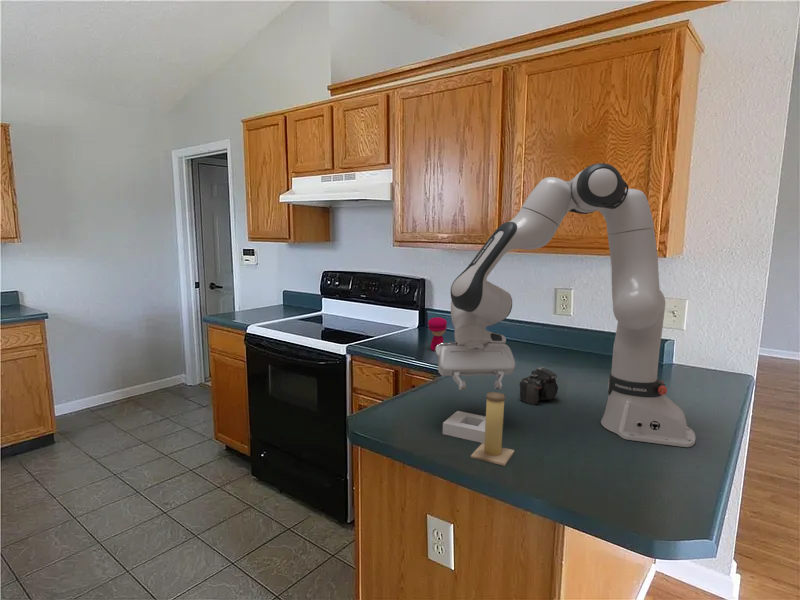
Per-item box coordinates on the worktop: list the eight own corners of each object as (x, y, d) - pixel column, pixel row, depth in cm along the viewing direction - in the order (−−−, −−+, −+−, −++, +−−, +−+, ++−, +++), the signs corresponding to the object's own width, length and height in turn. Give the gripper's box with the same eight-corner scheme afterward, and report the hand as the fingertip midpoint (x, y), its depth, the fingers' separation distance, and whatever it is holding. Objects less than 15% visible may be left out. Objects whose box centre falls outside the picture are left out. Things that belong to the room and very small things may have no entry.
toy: (449, 350, 216) (450, 317, 213) (440, 354, 209) (441, 320, 207) (432, 348, 220) (433, 315, 218) (423, 351, 213) (424, 317, 211)
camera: (548, 408, 146) (550, 376, 144) (516, 401, 151) (518, 370, 150) (561, 397, 157) (563, 366, 155) (531, 391, 162) (533, 361, 161)
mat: (514, 452, 116) (514, 450, 116) (504, 465, 109) (504, 463, 109) (482, 444, 120) (482, 442, 120) (470, 457, 113) (470, 455, 113)
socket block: (499, 430, 129) (499, 419, 128) (487, 444, 120) (487, 432, 120) (457, 421, 134) (457, 410, 134) (442, 433, 126) (442, 422, 125)
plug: (504, 450, 115) (507, 394, 114) (497, 457, 112) (501, 399, 110) (487, 446, 118) (490, 391, 116) (480, 452, 114) (483, 395, 112)
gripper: (436, 336, 129) (442, 383, 121) (510, 336, 131) (522, 382, 123) (432, 349, 134) (438, 395, 126) (504, 348, 136) (515, 393, 128)
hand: (480, 388), depth 124 cm, fingers open, 8 cm apart
